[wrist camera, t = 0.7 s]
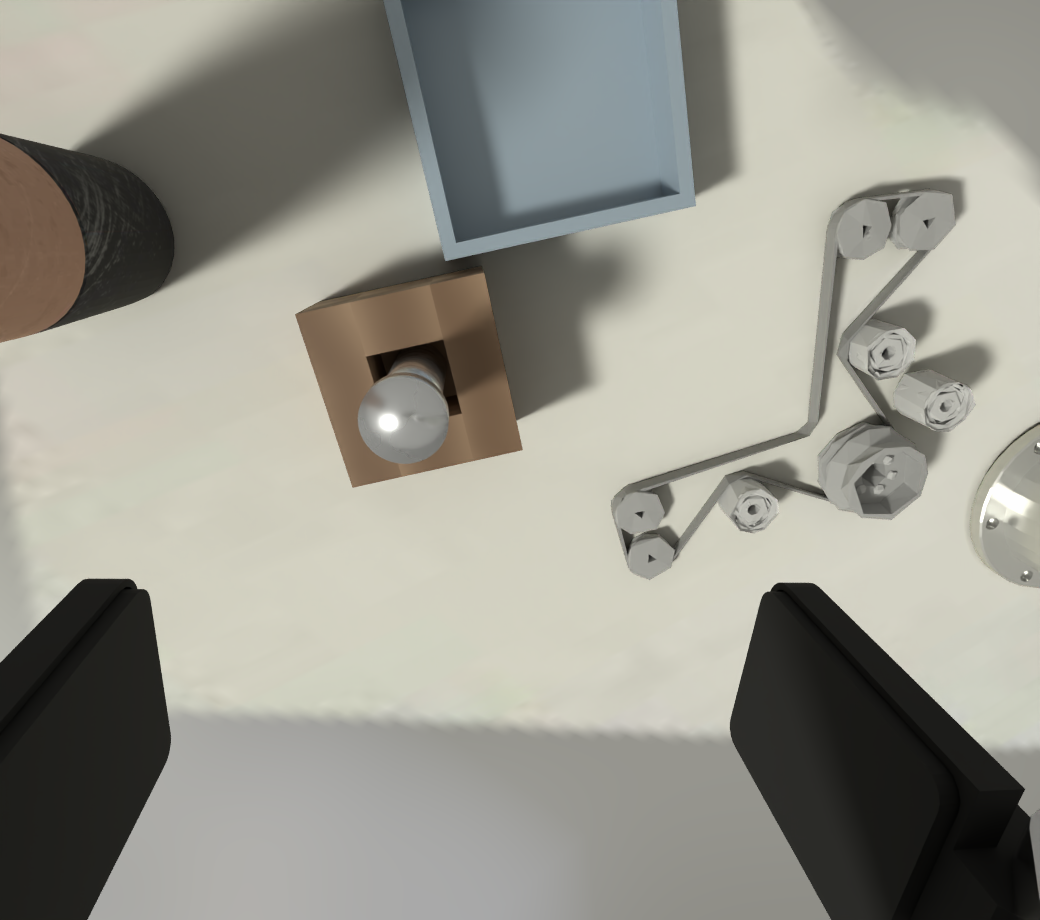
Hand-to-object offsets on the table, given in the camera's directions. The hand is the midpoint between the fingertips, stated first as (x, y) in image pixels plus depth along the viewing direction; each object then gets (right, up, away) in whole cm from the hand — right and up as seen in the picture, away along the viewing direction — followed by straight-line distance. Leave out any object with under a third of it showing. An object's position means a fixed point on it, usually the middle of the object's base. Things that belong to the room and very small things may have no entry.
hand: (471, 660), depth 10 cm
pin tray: (+2, +21, +22) cm, 30 cm away
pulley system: (+18, +5, +30) cm, 35 cm away
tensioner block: (-5, +8, +26) cm, 27 cm away
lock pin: (-5, +8, +25) cm, 26 cm away
